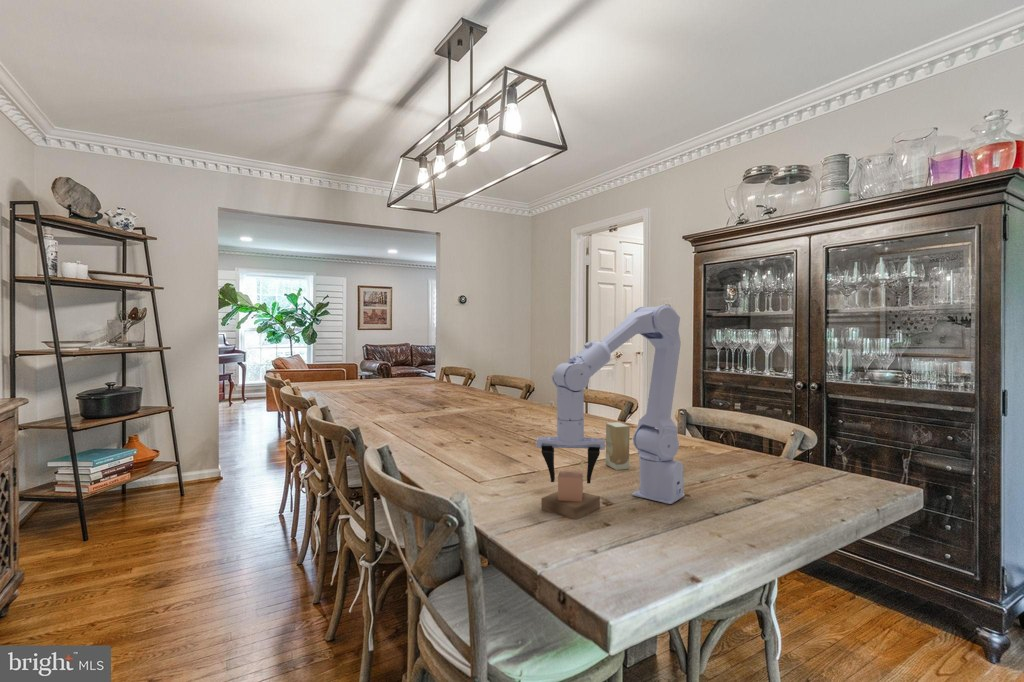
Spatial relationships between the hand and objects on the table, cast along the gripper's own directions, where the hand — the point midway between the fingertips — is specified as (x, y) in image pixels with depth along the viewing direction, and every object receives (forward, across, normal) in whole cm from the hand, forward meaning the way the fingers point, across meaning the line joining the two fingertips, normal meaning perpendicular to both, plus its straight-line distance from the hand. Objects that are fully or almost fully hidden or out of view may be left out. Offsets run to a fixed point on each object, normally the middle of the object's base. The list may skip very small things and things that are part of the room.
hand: (570, 481), depth 106 cm
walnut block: (+6, 0, 0) cm, 6 cm away
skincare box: (+6, -12, -35) cm, 38 cm away
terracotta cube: (+3, 0, 0) cm, 3 cm away
